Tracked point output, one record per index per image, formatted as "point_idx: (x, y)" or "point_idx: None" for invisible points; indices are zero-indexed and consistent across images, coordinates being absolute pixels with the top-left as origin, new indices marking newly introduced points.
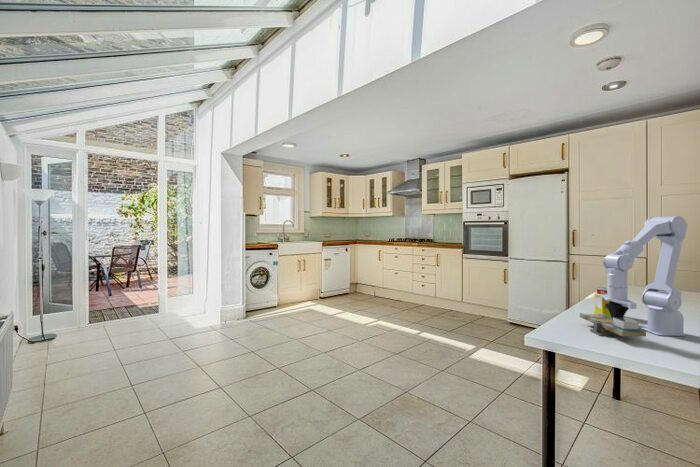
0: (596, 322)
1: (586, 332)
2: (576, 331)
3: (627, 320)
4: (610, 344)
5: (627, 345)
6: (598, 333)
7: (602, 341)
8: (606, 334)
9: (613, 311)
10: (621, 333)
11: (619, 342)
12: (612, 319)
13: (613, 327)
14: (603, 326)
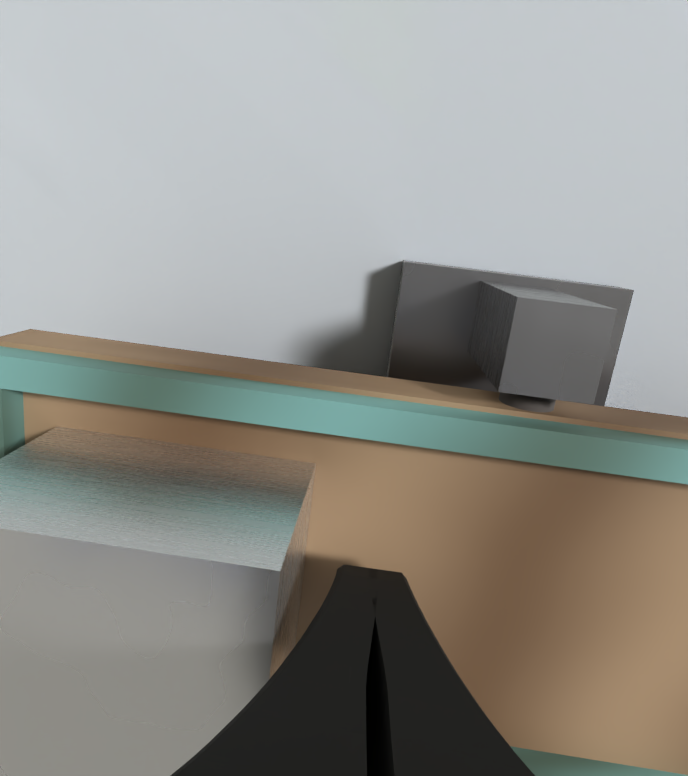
0: (549, 321)
1: (577, 176)
2: (661, 28)
3: (15, 677)
4: (28, 101)
5: (8, 315)
6: (425, 265)
7: (152, 84)
8: (390, 370)
9: (284, 754)
10: (3, 336)
11: (117, 309)
12: (399, 603)
13: (186, 381)
14: (449, 392)
